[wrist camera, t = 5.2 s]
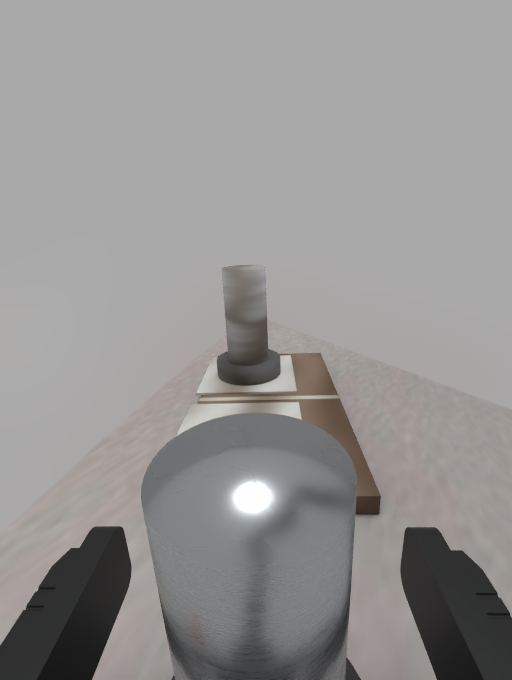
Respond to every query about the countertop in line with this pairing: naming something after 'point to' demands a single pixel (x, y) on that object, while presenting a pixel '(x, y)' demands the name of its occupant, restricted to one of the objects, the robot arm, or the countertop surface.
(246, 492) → the pin
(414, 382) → the countertop surface
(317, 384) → the board
